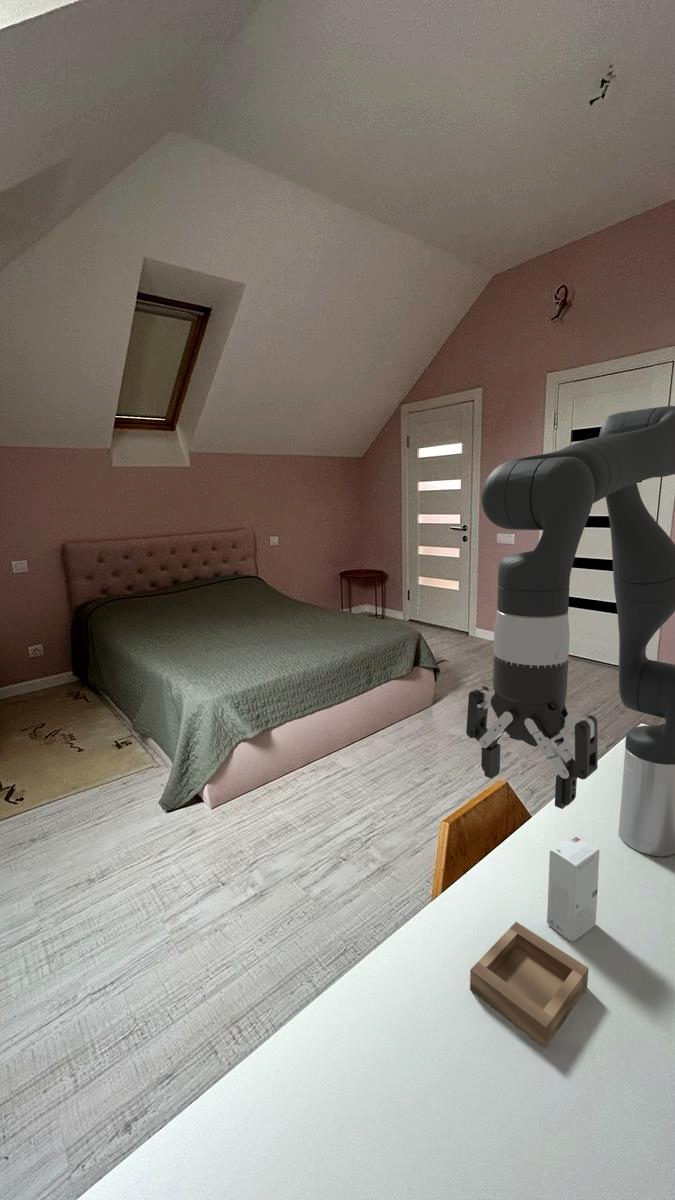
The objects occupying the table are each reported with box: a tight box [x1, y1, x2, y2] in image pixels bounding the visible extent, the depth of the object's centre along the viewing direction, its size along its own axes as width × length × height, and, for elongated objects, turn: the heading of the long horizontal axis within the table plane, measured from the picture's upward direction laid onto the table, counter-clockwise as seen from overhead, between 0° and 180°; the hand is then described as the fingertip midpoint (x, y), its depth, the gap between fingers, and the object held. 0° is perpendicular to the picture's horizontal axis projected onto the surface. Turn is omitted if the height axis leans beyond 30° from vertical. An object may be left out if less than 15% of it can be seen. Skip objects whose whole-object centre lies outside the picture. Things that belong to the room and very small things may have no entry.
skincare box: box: [546, 835, 600, 942], centre depth 74 cm, size 6×4×12 cm
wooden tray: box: [469, 921, 590, 1050], centre depth 65 cm, size 11×10×3 cm
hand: (525, 789), depth 58 cm, fingers open, 8 cm apart
